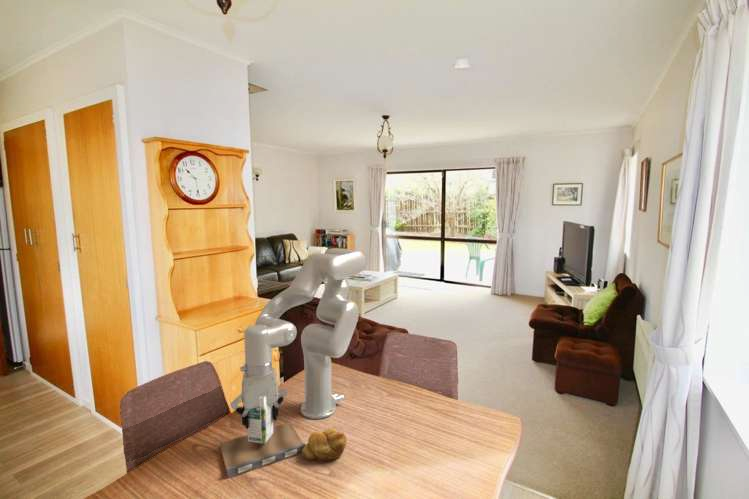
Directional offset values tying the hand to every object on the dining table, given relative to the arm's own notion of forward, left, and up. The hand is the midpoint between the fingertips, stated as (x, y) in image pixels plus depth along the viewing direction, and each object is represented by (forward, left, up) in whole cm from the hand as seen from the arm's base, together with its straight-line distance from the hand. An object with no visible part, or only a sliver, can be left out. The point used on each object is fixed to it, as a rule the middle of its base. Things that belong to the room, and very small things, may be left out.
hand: (260, 422), depth 114 cm
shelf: (0, +1, -8) cm, 8 cm away
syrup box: (0, 0, -5) cm, 5 cm away
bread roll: (-16, +12, -9) cm, 22 cm away
